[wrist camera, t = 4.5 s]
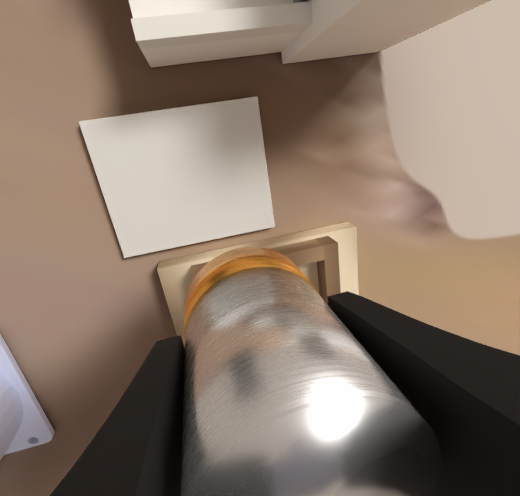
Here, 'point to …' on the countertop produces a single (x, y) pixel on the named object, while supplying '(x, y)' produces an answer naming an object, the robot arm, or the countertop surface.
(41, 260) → the countertop surface
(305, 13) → the feeder
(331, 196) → the countertop surface
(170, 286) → the seat board
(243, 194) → the mat
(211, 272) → the sleeve
